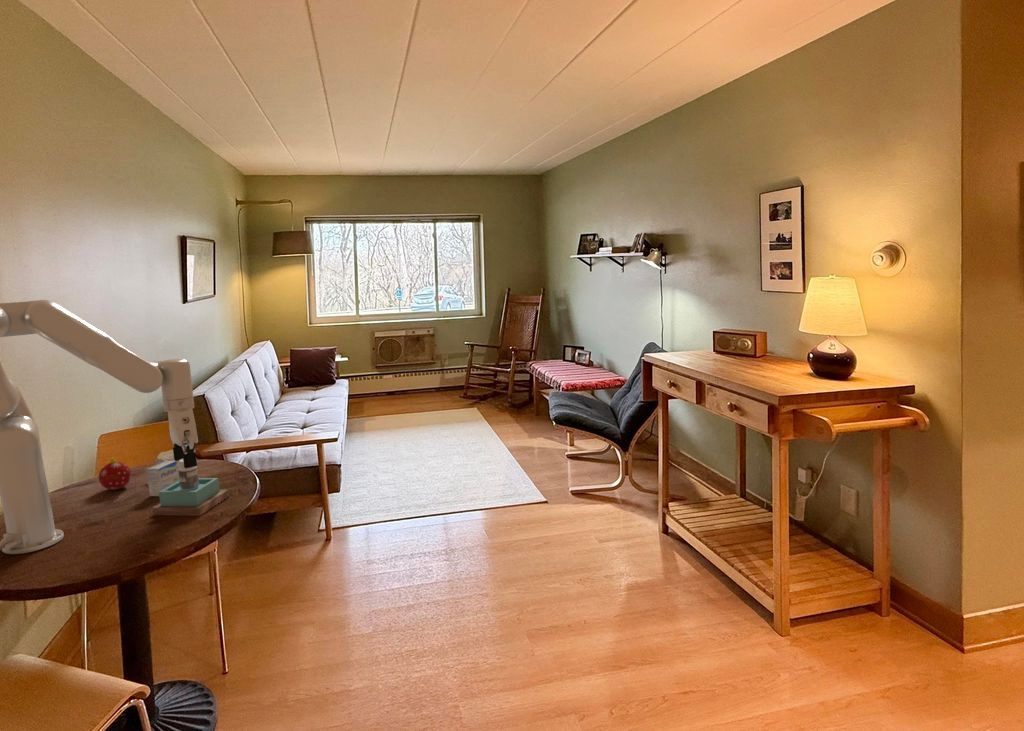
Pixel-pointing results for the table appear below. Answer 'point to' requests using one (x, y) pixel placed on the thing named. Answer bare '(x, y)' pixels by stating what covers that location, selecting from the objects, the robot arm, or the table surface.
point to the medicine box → (162, 476)
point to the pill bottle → (188, 477)
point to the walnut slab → (192, 509)
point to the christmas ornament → (115, 475)
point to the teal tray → (189, 493)
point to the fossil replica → (166, 458)
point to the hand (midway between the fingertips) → (185, 463)
